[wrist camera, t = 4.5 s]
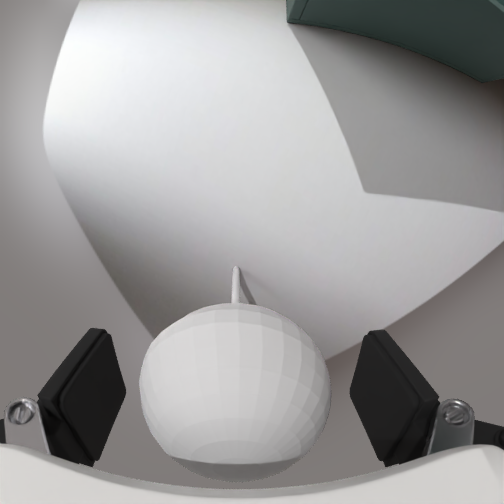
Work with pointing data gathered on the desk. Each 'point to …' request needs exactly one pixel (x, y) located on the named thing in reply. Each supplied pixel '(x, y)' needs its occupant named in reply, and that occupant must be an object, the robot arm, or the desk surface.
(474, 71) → the bin
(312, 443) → the lollipop
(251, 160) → the desk surface
